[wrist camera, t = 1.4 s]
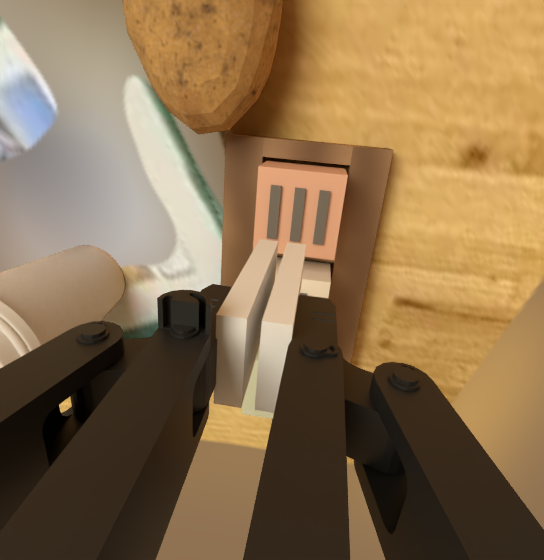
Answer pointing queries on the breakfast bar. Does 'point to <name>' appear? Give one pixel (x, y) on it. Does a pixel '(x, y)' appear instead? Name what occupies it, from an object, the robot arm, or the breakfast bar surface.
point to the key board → (353, 227)
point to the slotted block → (253, 395)
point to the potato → (205, 55)
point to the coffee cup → (55, 297)
